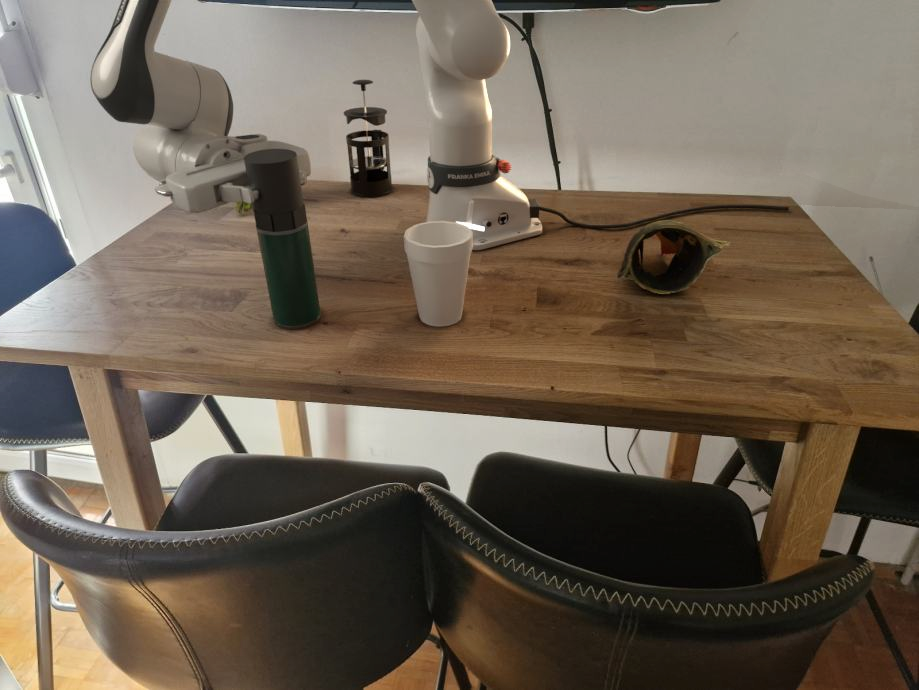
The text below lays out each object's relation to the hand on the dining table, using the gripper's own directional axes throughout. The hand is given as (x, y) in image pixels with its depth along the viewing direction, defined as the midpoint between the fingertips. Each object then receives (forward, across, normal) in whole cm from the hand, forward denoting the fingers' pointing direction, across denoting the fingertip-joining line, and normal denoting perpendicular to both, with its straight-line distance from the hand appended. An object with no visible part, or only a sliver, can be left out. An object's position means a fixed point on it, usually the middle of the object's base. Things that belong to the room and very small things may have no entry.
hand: (280, 187), depth 84 cm
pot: (+38, +43, +20) cm, 61 cm away
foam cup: (+16, +13, +20) cm, 29 cm away
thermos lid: (-1, 0, +5) cm, 5 cm away
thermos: (-1, 0, +20) cm, 20 cm away
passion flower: (-44, +27, +20) cm, 55 cm away
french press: (-32, +48, +20) cm, 61 cm away
